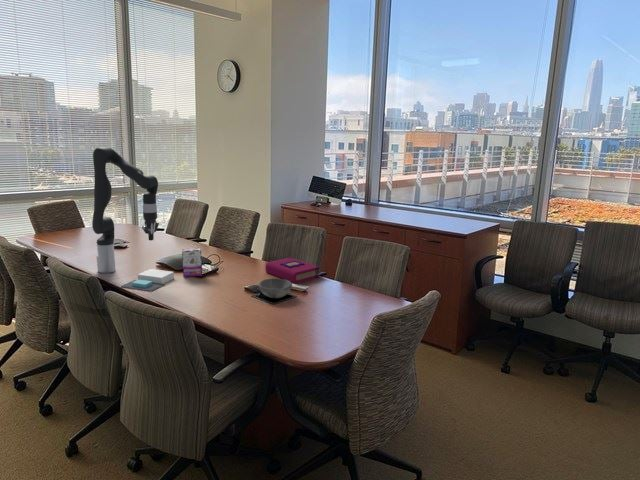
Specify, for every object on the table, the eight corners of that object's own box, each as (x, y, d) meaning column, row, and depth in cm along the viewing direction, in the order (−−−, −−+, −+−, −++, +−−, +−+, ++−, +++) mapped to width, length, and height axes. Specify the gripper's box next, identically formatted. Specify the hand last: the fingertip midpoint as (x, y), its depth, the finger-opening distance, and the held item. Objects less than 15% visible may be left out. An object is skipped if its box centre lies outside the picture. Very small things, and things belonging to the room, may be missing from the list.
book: (294, 284, 280) (294, 272, 278) (265, 273, 300) (265, 261, 298) (320, 277, 294) (320, 265, 293) (290, 267, 314) (290, 256, 312)
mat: (120, 287, 265) (120, 286, 265) (134, 280, 276) (134, 279, 276) (151, 291, 260) (151, 290, 260) (164, 285, 271) (164, 284, 271)
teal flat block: (138, 279, 271) (138, 282, 272) (131, 282, 266) (132, 285, 266) (152, 281, 269) (152, 284, 269) (145, 284, 263) (145, 288, 264)
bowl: (255, 292, 264) (255, 278, 262) (285, 289, 270) (286, 276, 268) (263, 303, 248) (263, 289, 246) (295, 300, 254) (295, 286, 252)
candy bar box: (202, 273, 293) (201, 248, 289) (202, 276, 289) (201, 250, 285) (183, 274, 290) (182, 248, 286) (183, 277, 286) (182, 250, 282)
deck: (138, 281, 276) (137, 274, 275) (150, 275, 287) (150, 268, 286) (161, 284, 272) (161, 277, 271) (174, 278, 283) (173, 271, 282)
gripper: (151, 208, 281) (152, 237, 285) (136, 212, 269) (138, 241, 273) (162, 209, 279) (163, 238, 283) (148, 213, 266) (149, 243, 271)
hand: (151, 240), depth 278 cm, fingers closed
